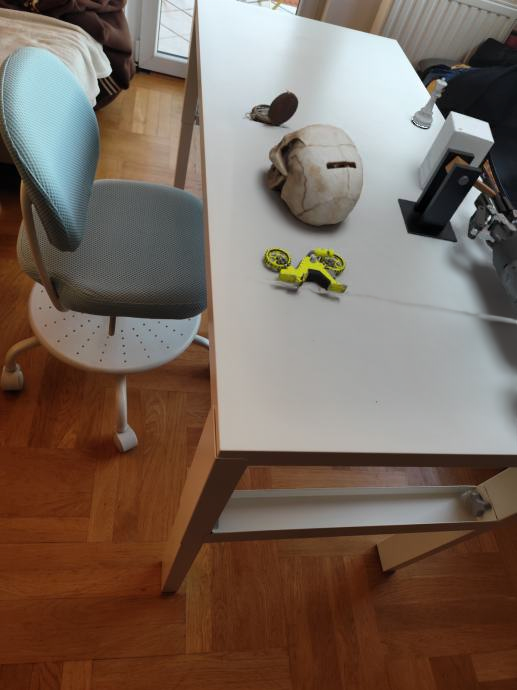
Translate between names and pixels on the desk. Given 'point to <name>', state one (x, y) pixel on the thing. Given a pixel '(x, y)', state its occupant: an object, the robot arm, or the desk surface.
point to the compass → (276, 110)
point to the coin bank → (317, 173)
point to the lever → (483, 187)
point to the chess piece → (429, 106)
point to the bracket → (440, 198)
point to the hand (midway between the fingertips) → (489, 199)
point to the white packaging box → (457, 143)
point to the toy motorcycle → (309, 268)
